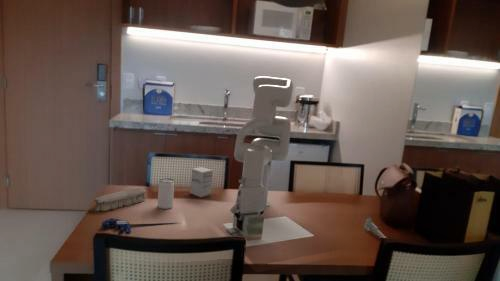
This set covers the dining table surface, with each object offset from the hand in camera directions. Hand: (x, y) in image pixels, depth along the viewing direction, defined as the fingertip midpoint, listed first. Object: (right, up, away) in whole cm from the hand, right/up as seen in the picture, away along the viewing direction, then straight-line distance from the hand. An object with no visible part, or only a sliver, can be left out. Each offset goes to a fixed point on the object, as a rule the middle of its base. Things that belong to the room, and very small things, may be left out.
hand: (247, 227), depth 141 cm
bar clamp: (-38, 0, +1) cm, 38 cm away
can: (-36, +4, +22) cm, 42 cm away
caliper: (+53, -8, +10) cm, 55 cm away
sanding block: (0, -2, 0) cm, 2 cm away
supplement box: (-23, +6, +43) cm, 49 cm away
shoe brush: (-55, +5, +20) cm, 58 cm away
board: (+8, -4, +5) cm, 10 cm away
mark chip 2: (-3, -3, -4) cm, 6 cm away
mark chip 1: (-6, -2, 0) cm, 6 cm away
